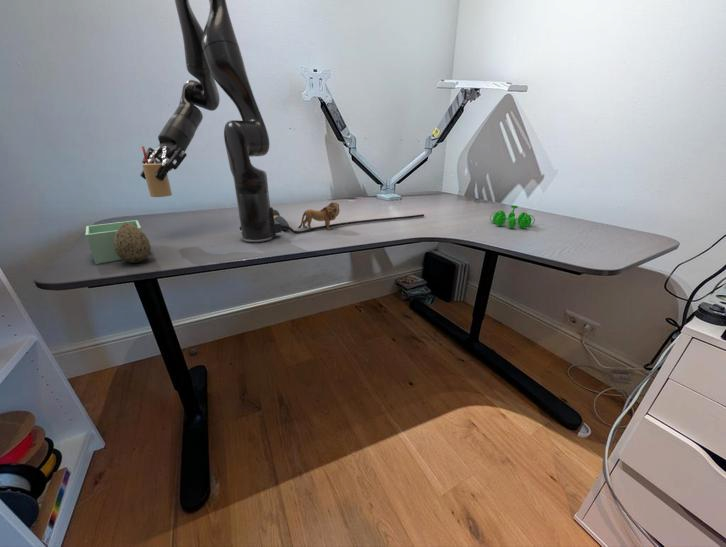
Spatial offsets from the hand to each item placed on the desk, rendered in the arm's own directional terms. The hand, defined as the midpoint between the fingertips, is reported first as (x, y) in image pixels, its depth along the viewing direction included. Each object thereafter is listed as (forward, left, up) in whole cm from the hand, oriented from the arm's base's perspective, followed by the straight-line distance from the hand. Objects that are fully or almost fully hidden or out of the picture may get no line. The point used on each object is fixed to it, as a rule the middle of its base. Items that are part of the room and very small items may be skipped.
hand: (151, 178), depth 90 cm
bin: (+12, +9, -18) cm, 24 cm away
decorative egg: (+9, +19, -18) cm, 28 cm away
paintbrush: (-35, +6, -18) cm, 40 cm away
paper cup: (-2, -1, -5) cm, 6 cm away
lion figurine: (-45, +18, -18) cm, 52 cm away
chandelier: (-104, +56, -18) cm, 120 cm away
